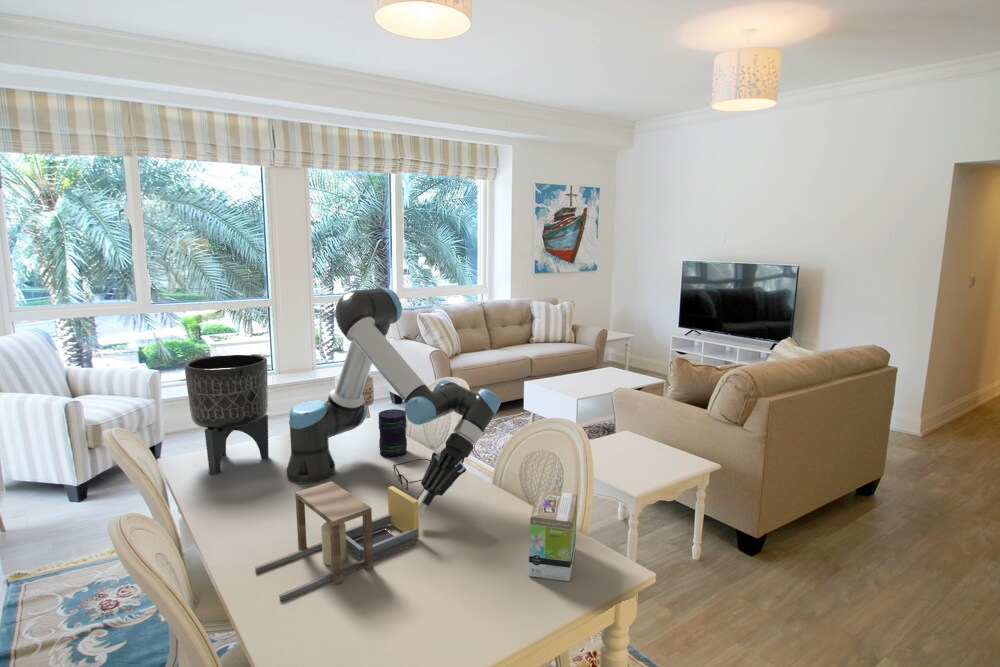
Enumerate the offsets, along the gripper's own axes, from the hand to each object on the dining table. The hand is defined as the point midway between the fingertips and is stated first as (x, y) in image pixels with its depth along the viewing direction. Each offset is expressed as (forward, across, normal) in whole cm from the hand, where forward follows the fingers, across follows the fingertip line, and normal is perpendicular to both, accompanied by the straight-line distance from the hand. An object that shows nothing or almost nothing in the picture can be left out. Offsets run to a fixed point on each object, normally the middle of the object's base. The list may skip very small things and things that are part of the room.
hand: (415, 513), depth 151 cm
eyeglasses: (-11, +25, -17) cm, 32 cm away
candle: (+19, 0, +14) cm, 23 cm away
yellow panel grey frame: (+10, 0, +5) cm, 12 cm away
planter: (+17, +80, +11) cm, 83 cm away
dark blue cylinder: (-15, +50, -21) cm, 56 cm away
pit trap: (+11, 0, +6) cm, 12 cm away
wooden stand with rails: (+19, 0, +14) cm, 23 cm away
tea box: (-7, -36, -13) cm, 39 cm away
